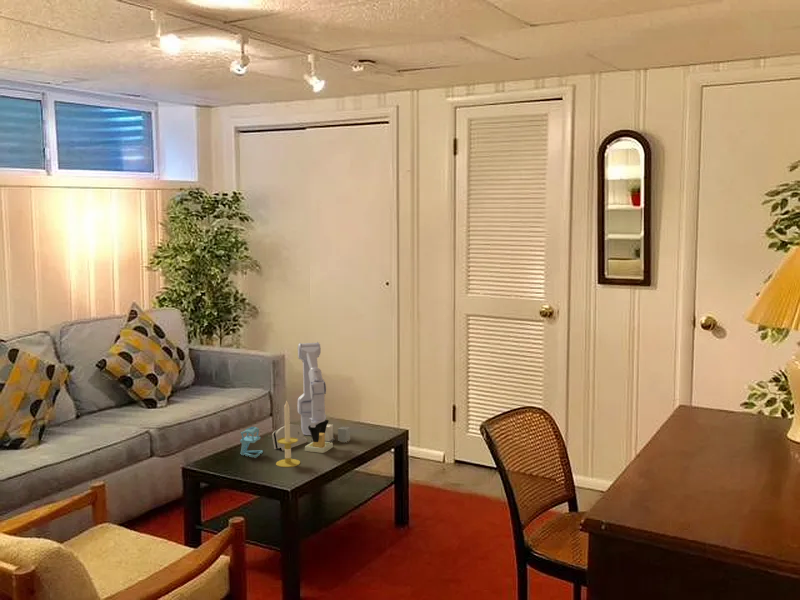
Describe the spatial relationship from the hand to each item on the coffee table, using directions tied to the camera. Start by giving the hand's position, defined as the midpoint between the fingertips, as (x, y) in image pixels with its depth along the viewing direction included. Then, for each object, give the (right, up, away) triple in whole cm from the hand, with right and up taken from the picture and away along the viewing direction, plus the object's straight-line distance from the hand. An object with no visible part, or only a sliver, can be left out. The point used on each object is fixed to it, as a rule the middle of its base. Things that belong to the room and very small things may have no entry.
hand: (318, 439), depth 345 cm
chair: (-29, -6, -7) cm, 30 cm away
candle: (-11, -7, -19) cm, 23 cm away
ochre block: (0, -4, 0) cm, 4 cm away
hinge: (-14, -4, +7) cm, 16 cm away
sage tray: (0, -4, 0) cm, 4 cm away
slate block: (+10, -3, +13) cm, 16 cm away
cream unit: (+1, -3, +13) cm, 13 cm away
